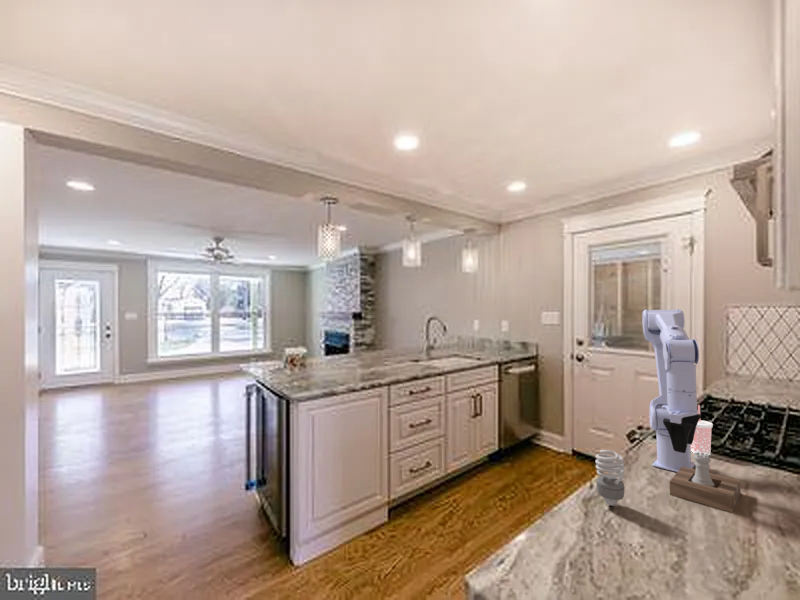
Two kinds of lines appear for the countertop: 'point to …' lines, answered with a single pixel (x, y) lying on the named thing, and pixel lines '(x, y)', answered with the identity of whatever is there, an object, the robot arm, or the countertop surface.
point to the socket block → (706, 489)
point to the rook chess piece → (702, 470)
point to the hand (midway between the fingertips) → (683, 447)
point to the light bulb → (610, 476)
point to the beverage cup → (702, 437)
